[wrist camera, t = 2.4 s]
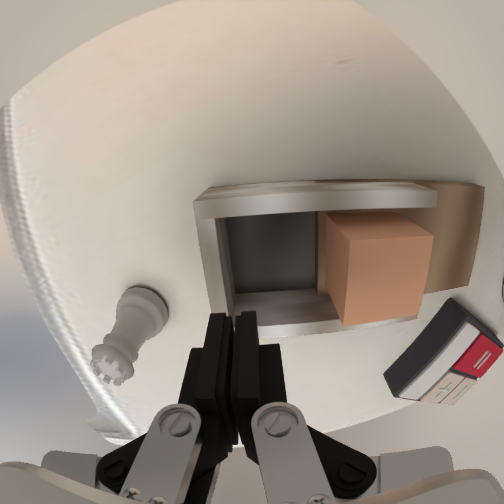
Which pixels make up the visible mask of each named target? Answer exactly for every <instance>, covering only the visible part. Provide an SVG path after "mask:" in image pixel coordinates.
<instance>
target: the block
mask: <svg viewBox="0 0 504 504" xmlns="http://www.w3.org/2000/svg"><path fill="white" fill-rule="evenodd" d="M433 238H434V235H432V234H431V233H429V232H428V231H426V230H425V229H423V228H421V227H420V226H418V225H416V224H415V223H413V222H411V221H410V220H408V219H406V218H405V217H403V216H401V215H400V214H398V213H396V212H394V211H393V212H363V213H339V214H326V260H325V285H326V288H327V290H328V292H329V295H330V297H331V299H332V302H333V304H334V306H335V309H336V311H337V314H338V316H339V318H340V321H341V323H342V326H351V325H358V324H365V323H372V322H378V321H385V320H391V319H396V318H402V317H407V316H413V315H418V313H419V309H420V306H421V301H422V297H423V293H424V289H425V284H426V279H427V274H428V269H429V263H430V258H431V251H432V245H433Z"/></svg>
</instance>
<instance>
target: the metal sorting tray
mask: <svg viewBox="0 0 504 504" xmlns="http://www.w3.org/2000/svg"><path fill="white" fill-rule="evenodd" d="M484 188H485V187H482V186H479V185H476V184H470V183H457V182H443V181H424V180H393V179H341V180H308V181H288V182H272V183H258V184H245V185H234V186H224V187H214V188H208V189H207V190H206V191H204V192H203V193H202V194H201V195H200V196H199V197H198V198H197V199H195V200H194V201H193V205H194V212H195V219H196V225H197V232H198V238H199V245H200V251H201V257H202V263H203V269H204V274H205V280H206V286H207V291H208V296H209V302H210V307H211V312H212V313H226V315H227V316H232V321H233V327H234V331H235V318H236V316H239V315H241V311H255V310H256V315H257V325H258V336H259V339H260V338H276V337H289V336H301V335H311V334H321V333H330V332H338V331H346V330H353V329H360V328H367V327H373V326H380V325H386V324H391V323H397V322H402V321H408V320H413V319H417V315H413V316H407V317H402V318H396V319H391V320H385V321H378V322H372V323H365V324H358V325H351V326H342V323H341V321H340V318H339V316H338V314H337V311H336V309H335V306H334V304H333V302H332V299H331V297H330V295H329V292H328V290H327V288H326V285H325V260H326V214H339V213H363V212H393V211H394V212H396V213H398V214H400V215H401V216H403V217H405V218H406V219H408V220H410V221H411V222H413V223H415V224H416V225H418V226H420V227H421V228H423V229H425V230H426V231H428V232H429V233H431V234H432V235H434V238H433V245H432V251H431V258H430V263H429V269H428V274H427V279H426V284H425V289H424V293H423V294H425V293H431V292H437V291H442V290H448V289H453V288H458V287H463V286H468V284H469V280H470V277H471V272H472V268H473V264H474V259H475V254H476V249H477V244H478V238H479V232H480V226H481V219H482V210H483V200H484Z"/></svg>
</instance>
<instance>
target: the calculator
mask: <svg viewBox="0 0 504 504" xmlns="http://www.w3.org/2000/svg"><path fill="white" fill-rule="evenodd" d="M503 347H504V345H503V343H502V342H501V341H500V340H499V339H498V338H497V337H496V335H495V334H494V333H493V332H491V331H490V330H489V329H488V328H487V327H486V326H484V325H483V324H482V323H481V322H480V321H479V320H477V319H476V318H475V317H474V316H472V315H471V314H470V313H469V312H468V311H467V310H465V309H464V308H463V307H462V306H461V305H459V304H458V303H457V302H456V301H454V300H453V299H452V298H449V299H448V300H447V301H446V302H445V303H444V305H443V306H442V307H441V309H440V310H439V311H438V313H437V314H436V315H435V316H434V318H433V319H432V320H431V321H430V323H429V324H428V325H427V326H426V328H425V329H424V330H423V331H422V332H421V334H420V335H419V336H418V337H417V338H416V339H415V341H414V342H413V343H412V344H411V345H410V346H409V347H408V348H407V349H406V351H405V352H404V353H403V354H402V355H401V356H400V357H399V358H398V359H397V360H396V361H395V362H394V363H393V364H392V365H391V366H390V367H389V368H388V369H387V370H386V371H385V372H384V374H383V375H384V378H385V380H386V382H387V384H388V386H389V388H390V390H391V392H392V395H393V396H394V397H397V398H403V399H409V400H416V401H421V402H429V403H440V404H448V405H454V404H455V403H456V402H457V401H458V400H459V399H460V398H461V397H462V396H464V394H465V393H467V391H468V390H470V389H471V387H473V385H474V384H475V383H476V382H477V380H476V379H477V378H478V377H480V378H481V377H482V376H483V375H484V374H485V373H486V371H487V370H488V369H489V368H490V367H491V366H492V364H493V363H494V362H495V361H496V360H497V359H498V357H499V356H500V355H501V354H502V352H503V350H502V349H503Z"/></svg>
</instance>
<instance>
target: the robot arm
mask: <svg viewBox="0 0 504 504" xmlns="http://www.w3.org/2000/svg"><path fill="white" fill-rule="evenodd" d="M503 299H504V286H503ZM238 432H239V434H240V438H241V442H242V445H244V447H245V450H246V454H247V457H248V458H250V459H251V460H252V461H254V462H255V463H256V464H258V465H259V467H260V471H261V476H262V481H263V485H264V489H265V494H266V498H267V502H268V504H504V490H503V489H502V487H501V485H500V484H499V482H498V481H497V479H496V478H495V477H494V476H493V475H492V474H491V473H489V472H488V471H485V470H481V469H464V470H456V471H454V470H453V463H452V457H451V455H450V452H449V451H447V450H446V449H445V448H443V447H440V446H435V447H434V446H433V447H428V448H422V449H416V450H410V451H402V452H394V453H385V454H380V456H374V457H368V456H367V455H365V454H363V453H361V452H358V451H356V450H354V449H352V448H350V447H348V446H346V445H344V444H342V443H340V442H338V441H336V440H334V439H332V438H330V437H328V436H326V435H324V434H323V433H321V432H319V431H317V430H315V429H314V428H312V427H310V426H308V425H307V424H306V421H305V419H304V416H303V414H302V413H301V411H300V410H299V409H298V408H297V407H296V406H294V405H292V404H289V403H287V398H286V390H285V382H284V374H283V366H282V359H281V351H280V345H279V344H267V345H259V336H258V325H257V315H256V310H255V311H241V315H239V316H236V318H235V331H234V327H233V321H232V316H227V315H226V313H211V314H210V318H209V322H208V327H207V332H206V337H205V342H204V347H203V348H192V349H191V351H190V355H189V359H188V363H187V367H186V371H185V375H184V379H183V383H182V388H181V392H180V396H179V400H178V404H172V405H168V406H166V407H164V408H162V409H161V410H160V411H159V412H158V413H157V414H156V416H155V417H154V419H153V422H152V424H151V426H150V428H149V430H148V432H147V433H145V434H144V435H142V436H140V437H138V438H137V439H135V440H133V441H131V442H129V443H127V444H126V445H124V446H122V447H120V448H118V449H116V450H114V451H113V452H111V453H109V454H106V455H105V456H104V457H99V456H97V455H93V454H80V453H71V452H62V451H50V452H48V453H47V454H46V455H45V456H44V457H43V460H42V464H41V467H39V466H36V465H33V464H29V463H24V462H5V463H1V464H0V504H211V499H212V497H213V492H214V489H215V485H216V481H217V478H218V474H219V470H220V463H221V461H223V460H224V459H226V458H227V457H228V452H232V447H233V445H238Z"/></svg>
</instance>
